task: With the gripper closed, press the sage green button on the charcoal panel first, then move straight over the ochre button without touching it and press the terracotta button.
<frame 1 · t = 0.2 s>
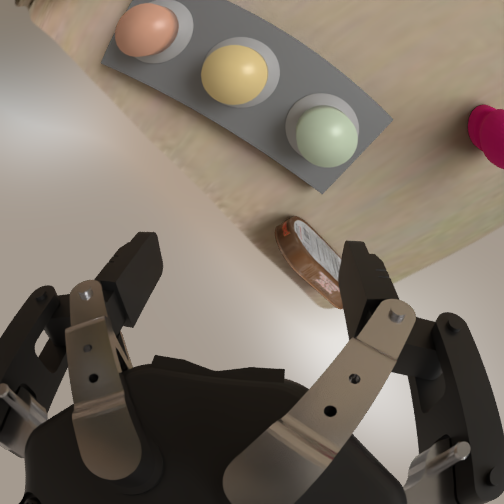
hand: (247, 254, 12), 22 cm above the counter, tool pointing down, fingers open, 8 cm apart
pepper mill: (483, 126, 23), on the counter
terracotta button: (146, 29, 18), point 5 cm above the counter, slide at 0.0 cm
ochre button: (235, 73, 21), point 5 cm above the counter, slide at 0.0 cm
button panel: (243, 70, 25), on the counter
sage button: (325, 135, 24), point 5 cm above the counter, slide at 0.0 cm
tin: (318, 242, 39), on the counter
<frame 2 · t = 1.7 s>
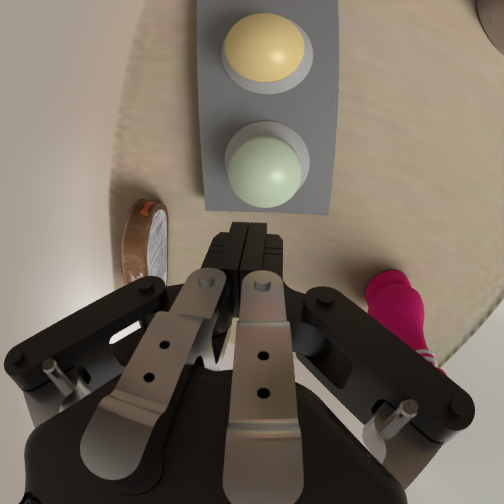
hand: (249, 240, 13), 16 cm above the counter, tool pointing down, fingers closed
pepper mill: (386, 287, 34), on the counter
ochre button: (265, 48, 16), point 5 cm above the counter, slide at 0.0 cm
button panel: (268, 56, 21), on the counter
sage button: (265, 170, 22), point 5 cm above the counter, slide at 0.0 cm
tin: (161, 244, 34), on the counter
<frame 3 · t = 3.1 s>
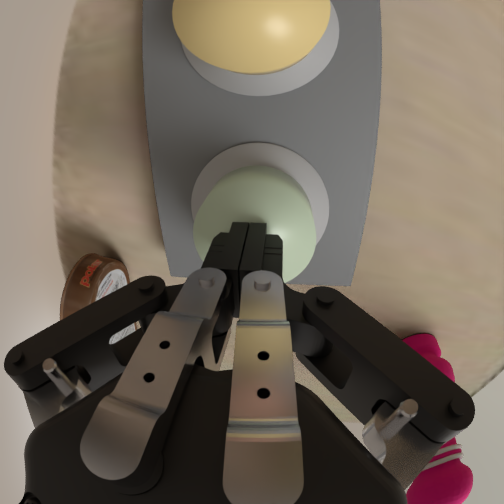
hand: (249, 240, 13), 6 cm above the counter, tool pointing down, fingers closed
pepper mill: (410, 350, 25), on the counter
ochre button: (252, 11, 8), point 5 cm above the counter, slide at 0.0 cm
button panel: (262, 34, 12), on the counter
sage button: (256, 228, 14), point 5 cm above the counter, slide at 0.7 cm, touching gripper
tin: (126, 302, 25), on the counter
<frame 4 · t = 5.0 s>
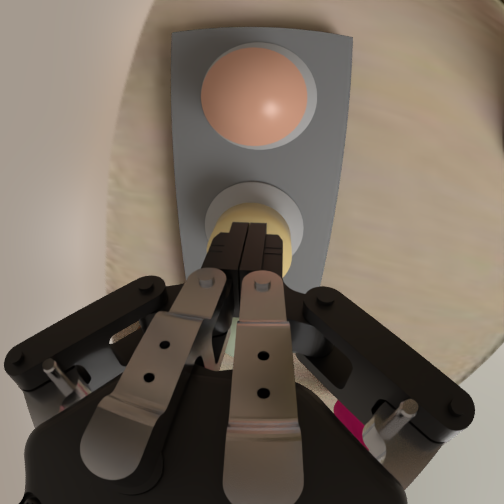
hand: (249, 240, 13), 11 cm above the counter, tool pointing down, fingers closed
pepper mill: (354, 382, 37), on the counter
terracotta button: (255, 95, 14), point 5 cm above the counter, slide at 0.0 cm
ochre button: (250, 247, 19), point 5 cm above the counter, slide at 0.0 cm
button panel: (256, 214, 24), on the counter
sage button: (248, 333, 26), point 4 cm above the counter, slide at 0.9 cm
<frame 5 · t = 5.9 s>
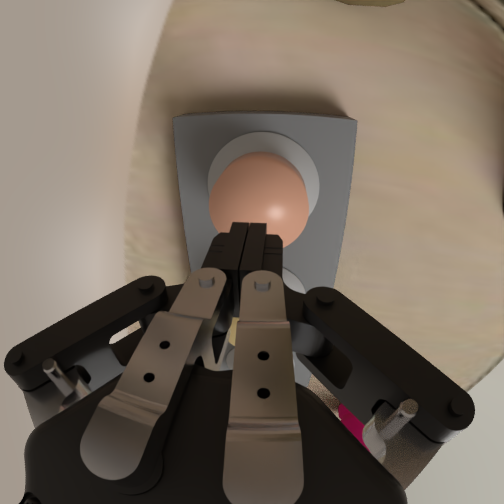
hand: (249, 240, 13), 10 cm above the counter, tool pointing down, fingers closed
pepper mill: (356, 403, 39), on the counter
terracotta button: (259, 201, 16), point 5 cm above the counter, slide at 0.0 cm
ochre button: (259, 320, 22), point 5 cm above the counter, slide at 0.0 cm
button panel: (263, 280, 26), on the counter
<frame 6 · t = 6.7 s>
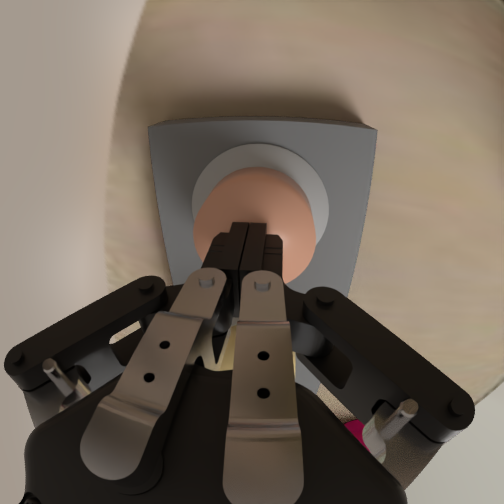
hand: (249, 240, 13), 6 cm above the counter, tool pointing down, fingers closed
pepper mill: (358, 424, 36), on the counter
terracotta button: (255, 229, 14), point 5 cm above the counter, slide at 0.6 cm, touching gripper
ochre button: (255, 361, 19), point 5 cm above the counter, slide at 0.0 cm
button panel: (261, 310, 23), on the counter
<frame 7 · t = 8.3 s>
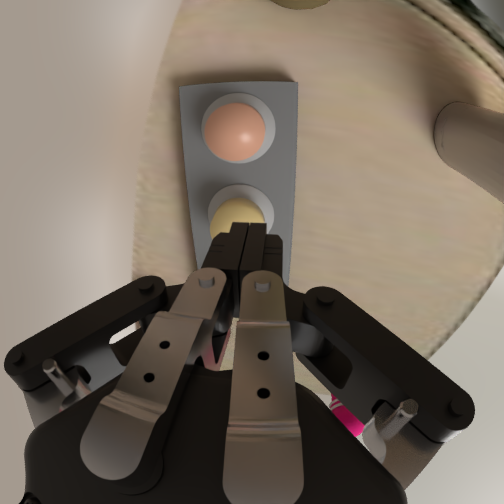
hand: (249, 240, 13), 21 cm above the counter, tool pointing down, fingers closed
pepper mill: (336, 343, 47), on the counter
terracotta button: (235, 130, 25), point 4 cm above the counter, slide at 0.9 cm
ochre button: (238, 226, 30), point 5 cm above the counter, slide at 0.0 cm
button panel: (242, 206, 34), on the counter
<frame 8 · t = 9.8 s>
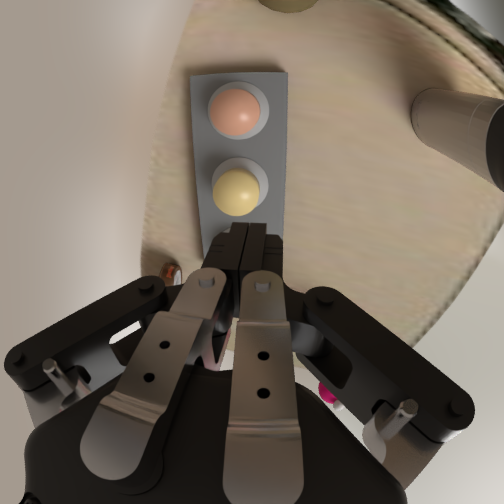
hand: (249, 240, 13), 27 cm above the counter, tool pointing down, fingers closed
pepper mill: (329, 315, 52), on the counter
terracotta button: (235, 111, 30), point 4 cm above the counter, slide at 0.9 cm
ochre button: (236, 191, 34), point 5 cm above the counter, slide at 0.0 cm
button panel: (242, 178, 39), on the counter
tin: (177, 286, 52), on the counter
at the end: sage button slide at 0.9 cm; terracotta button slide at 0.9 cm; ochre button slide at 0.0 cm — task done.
